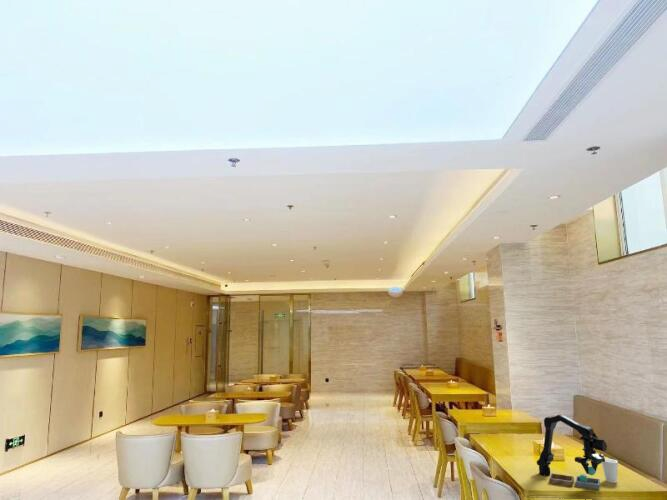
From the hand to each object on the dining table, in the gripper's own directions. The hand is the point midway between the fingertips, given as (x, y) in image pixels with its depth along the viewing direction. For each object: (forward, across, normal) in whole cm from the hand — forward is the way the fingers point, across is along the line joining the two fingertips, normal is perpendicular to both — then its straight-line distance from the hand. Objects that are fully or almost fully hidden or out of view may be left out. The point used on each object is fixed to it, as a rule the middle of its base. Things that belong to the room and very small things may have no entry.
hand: (590, 473), depth 297 cm
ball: (+5, 0, +7) cm, 9 cm away
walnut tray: (+8, -12, +13) cm, 19 cm away
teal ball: (-2, 0, 0) cm, 2 cm away
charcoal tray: (+8, 0, +3) cm, 9 cm away
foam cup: (+8, +21, +6) cm, 24 cm away
